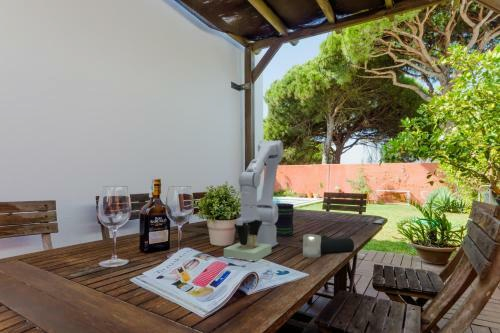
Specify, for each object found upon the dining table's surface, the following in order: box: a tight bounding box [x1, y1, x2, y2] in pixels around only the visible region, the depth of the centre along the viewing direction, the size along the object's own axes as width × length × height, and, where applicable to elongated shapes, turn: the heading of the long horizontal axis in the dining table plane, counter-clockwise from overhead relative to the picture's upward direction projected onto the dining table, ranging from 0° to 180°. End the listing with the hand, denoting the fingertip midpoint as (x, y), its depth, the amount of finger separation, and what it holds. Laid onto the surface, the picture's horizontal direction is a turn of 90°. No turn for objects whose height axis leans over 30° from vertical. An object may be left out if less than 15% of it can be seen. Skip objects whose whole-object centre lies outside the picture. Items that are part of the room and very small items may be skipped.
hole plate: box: [223, 241, 272, 261], centre depth 109 cm, size 14×12×3 cm
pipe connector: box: [320, 234, 355, 255], centre depth 118 cm, size 12×5×15 cm
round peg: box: [302, 233, 322, 259], centre depth 110 cm, size 6×6×7 cm
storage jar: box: [274, 202, 295, 239], centre depth 144 cm, size 10×10×15 cm
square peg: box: [241, 233, 256, 249], centre depth 109 cm, size 4×4×7 cm
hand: (248, 242), depth 109 cm, fingers open, 7 cm apart
